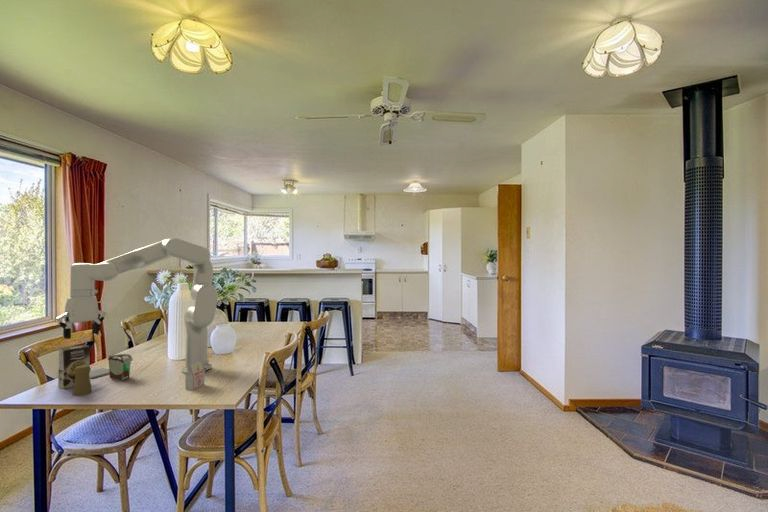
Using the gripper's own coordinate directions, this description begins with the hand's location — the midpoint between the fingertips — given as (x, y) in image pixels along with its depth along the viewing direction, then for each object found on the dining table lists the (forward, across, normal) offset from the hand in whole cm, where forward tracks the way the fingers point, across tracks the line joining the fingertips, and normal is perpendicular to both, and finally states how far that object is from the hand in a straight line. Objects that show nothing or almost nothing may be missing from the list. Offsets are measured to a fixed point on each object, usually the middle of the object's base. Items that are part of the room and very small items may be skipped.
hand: (81, 335), depth 147 cm
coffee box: (+23, -4, -14) cm, 28 cm away
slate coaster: (+23, -16, -20) cm, 35 cm away
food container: (+23, -18, -4) cm, 30 cm away
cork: (+23, 0, 0) cm, 23 cm away
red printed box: (+23, -24, +35) cm, 49 cm away
